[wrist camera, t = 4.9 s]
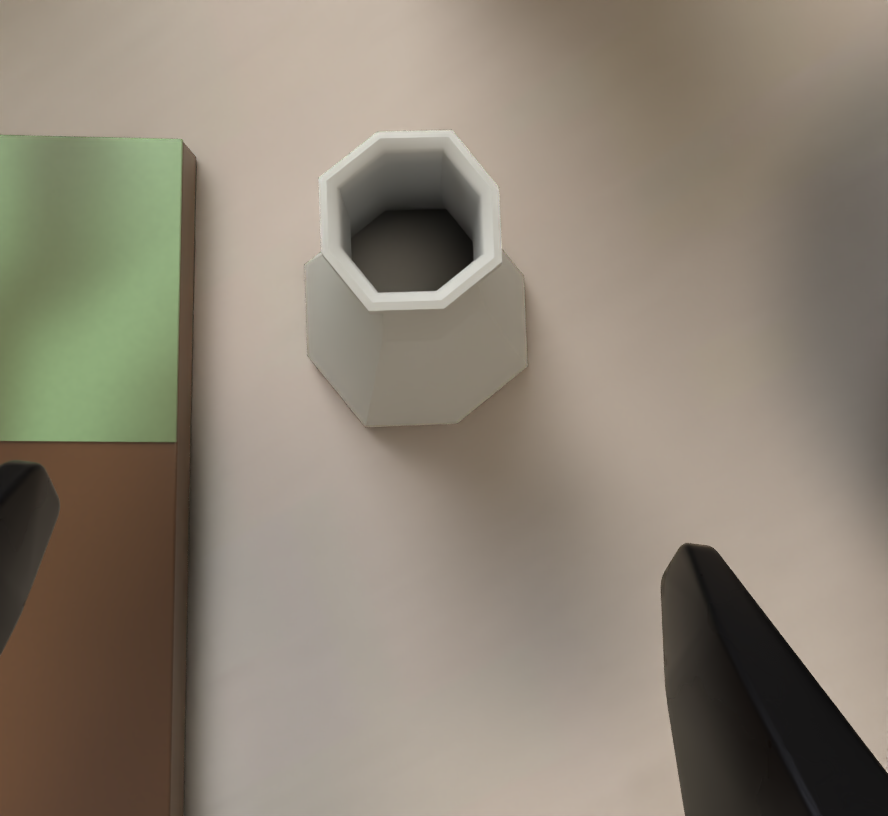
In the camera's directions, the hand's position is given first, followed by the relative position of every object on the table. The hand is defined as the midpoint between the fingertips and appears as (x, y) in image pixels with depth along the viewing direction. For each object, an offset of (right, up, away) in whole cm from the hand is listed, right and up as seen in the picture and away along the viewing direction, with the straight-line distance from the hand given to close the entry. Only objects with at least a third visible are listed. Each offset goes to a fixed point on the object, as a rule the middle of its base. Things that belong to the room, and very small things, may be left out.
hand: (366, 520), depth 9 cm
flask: (0, +4, +12) cm, 13 cm away
